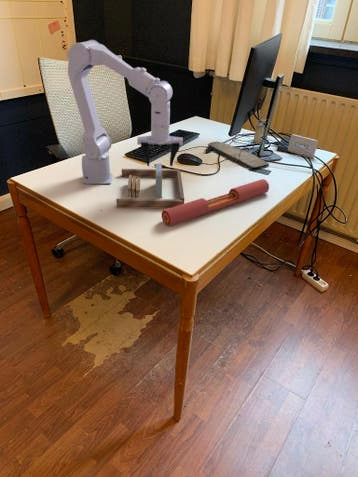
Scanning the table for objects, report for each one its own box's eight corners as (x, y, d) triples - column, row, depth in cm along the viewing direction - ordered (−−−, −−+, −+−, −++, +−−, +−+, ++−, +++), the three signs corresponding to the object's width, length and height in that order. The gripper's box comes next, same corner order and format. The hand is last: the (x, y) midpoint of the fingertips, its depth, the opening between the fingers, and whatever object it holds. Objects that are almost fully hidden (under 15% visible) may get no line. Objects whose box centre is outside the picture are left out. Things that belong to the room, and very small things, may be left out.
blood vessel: (257, 189, 129) (260, 176, 126) (267, 195, 126) (270, 182, 123) (160, 221, 108) (161, 207, 106) (170, 229, 105) (170, 214, 102)
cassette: (314, 157, 157) (318, 140, 153) (312, 158, 156) (317, 141, 151) (288, 150, 163) (292, 133, 158) (286, 151, 162) (290, 134, 157)
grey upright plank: (155, 197, 120) (156, 175, 116) (155, 184, 128) (155, 163, 124) (161, 197, 120) (162, 175, 116) (161, 184, 128) (161, 163, 124)
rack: (116, 207, 113) (116, 199, 112) (122, 174, 133) (121, 167, 131) (184, 208, 115) (184, 199, 113) (179, 175, 135) (179, 168, 133)
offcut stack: (127, 197, 119) (127, 187, 117) (129, 184, 128) (129, 174, 126) (139, 197, 120) (139, 188, 118) (140, 184, 128) (139, 175, 126)
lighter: (257, 143, 168) (261, 122, 162) (251, 141, 170) (254, 120, 164) (266, 140, 172) (270, 119, 166) (259, 138, 174) (263, 117, 169)
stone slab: (222, 139, 165) (271, 159, 145) (222, 146, 167) (270, 166, 147) (205, 143, 160) (253, 164, 140) (204, 150, 162) (252, 172, 142)
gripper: (137, 128, 107) (137, 169, 115) (184, 128, 109) (182, 170, 117) (137, 120, 113) (137, 161, 121) (182, 121, 115) (180, 161, 122)
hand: (159, 164), depth 119 cm, fingers open, 7 cm apart
